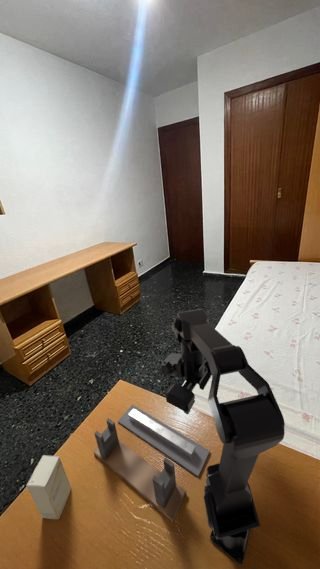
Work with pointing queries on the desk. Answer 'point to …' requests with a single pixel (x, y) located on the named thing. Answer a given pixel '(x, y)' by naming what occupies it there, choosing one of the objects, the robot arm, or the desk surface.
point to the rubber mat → (190, 465)
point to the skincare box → (49, 487)
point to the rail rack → (140, 472)
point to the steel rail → (163, 434)
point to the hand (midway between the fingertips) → (194, 400)
